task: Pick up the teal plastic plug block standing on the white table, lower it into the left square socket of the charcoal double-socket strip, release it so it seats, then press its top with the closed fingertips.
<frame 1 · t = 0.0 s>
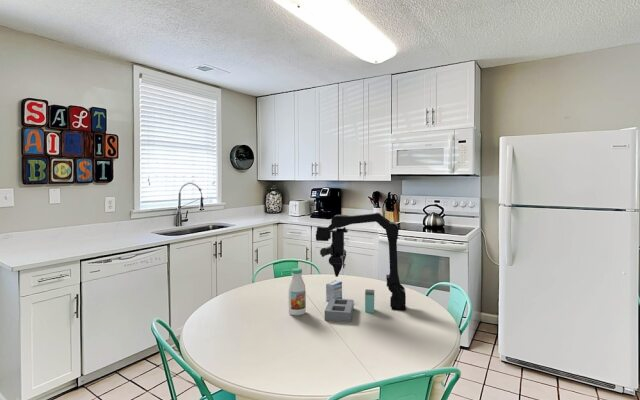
hand: (337, 273, 171), 15 cm above the table, fingers open, 9 cm apart
milk bottle: (297, 313, 161), on the table
socket plate: (339, 313, 160), on the table
medicine box: (334, 300, 179), on the table
plug: (369, 310, 164), on the table
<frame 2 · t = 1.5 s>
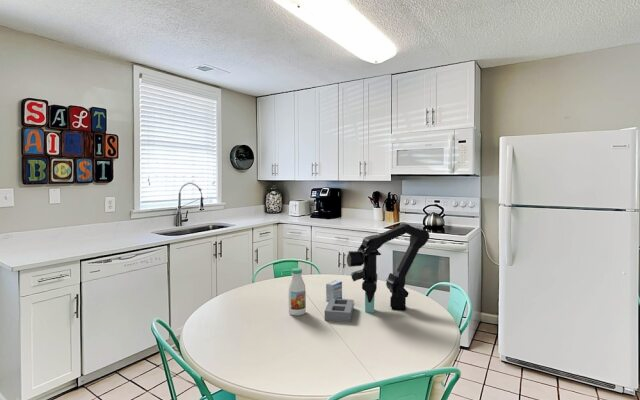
hand: (370, 298, 163), 5 cm above the table, fingers open, 9 cm apart
nothing on the table moved.
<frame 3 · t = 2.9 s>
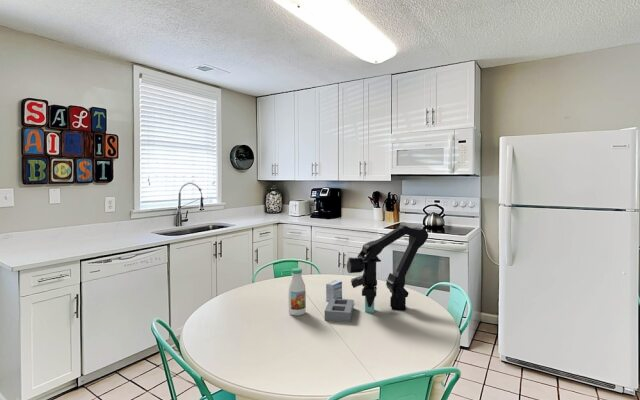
hand: (369, 305, 163), 3 cm above the table, fingers closed on plug, 4 cm apart
plug: (369, 310, 164), on the table, touching gripper
everything else where it was.
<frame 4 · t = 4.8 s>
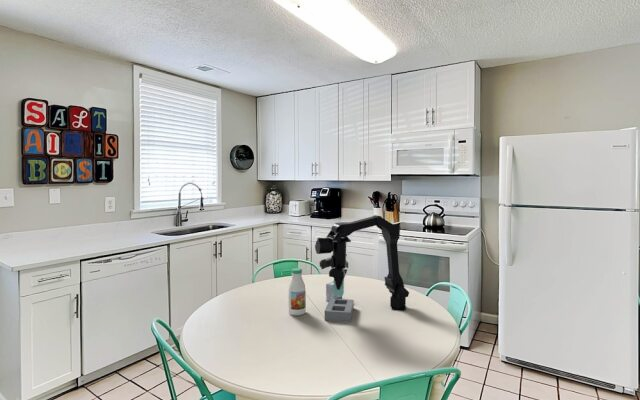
hand: (338, 288, 155), 13 cm above the table, fingers closed on plug, 4 cm apart
plug: (338, 293, 155), point 10 cm above the table, touching gripper
everything else where it was.
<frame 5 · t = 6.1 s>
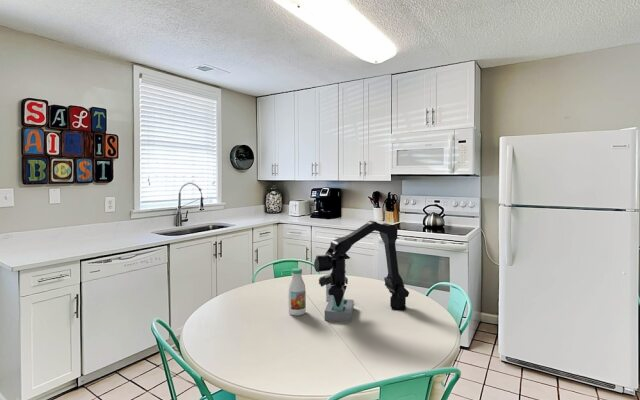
hand: (338, 304, 156), 6 cm above the table, fingers closed on plug, 4 cm apart
plug: (338, 310, 156), point 3 cm above the table, touching gripper
everything else where it was.
when the fingers open (5 cm above the table, at t = 6.9 s): plug drops 3 cm, resting in socket plate.
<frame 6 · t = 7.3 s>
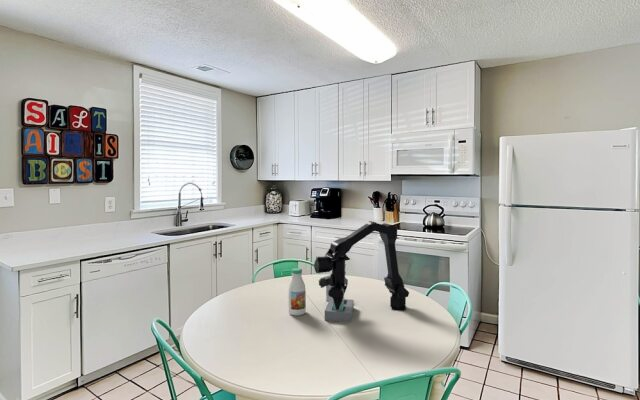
hand: (338, 306, 156), 5 cm above the table, fingers open, 8 cm apart
plug: (338, 317, 156), resting in socket plate
everything else where it was.
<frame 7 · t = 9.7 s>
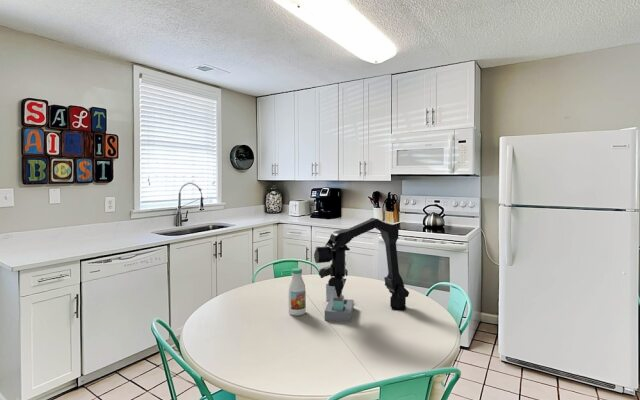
hand: (338, 296, 155), 9 cm above the table, fingers closed
nothing on the table moved.
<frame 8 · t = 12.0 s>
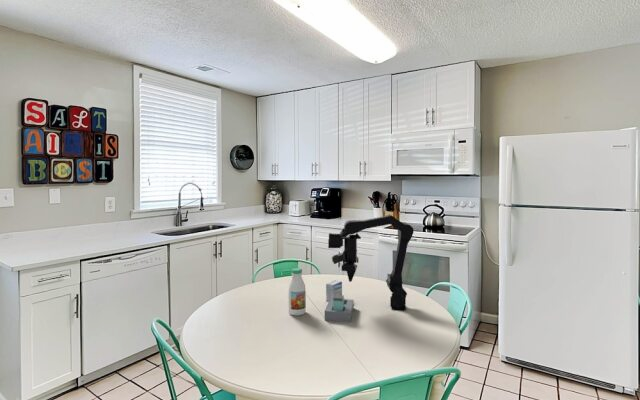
hand: (350, 281, 166), 13 cm above the table, fingers closed
nothing on the table moved.
at the end: plug 0.0 cm from the target spot on the socket plate, point 0.0 cm above the socket plate's base; plug tilted 0°; the gripper is holding nothing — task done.
